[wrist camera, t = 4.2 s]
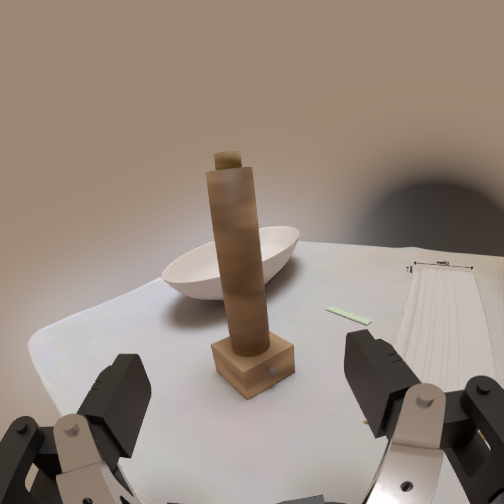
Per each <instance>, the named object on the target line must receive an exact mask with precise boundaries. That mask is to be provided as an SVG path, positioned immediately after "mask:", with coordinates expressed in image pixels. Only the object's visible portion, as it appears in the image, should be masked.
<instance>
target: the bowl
mask: <svg viewBox="0 0 504 504" xmlns="http://www.w3.org/2000/svg"><path fill="white" fill-rule="evenodd" d="M259 236H260V246H261V256H262V265H263V275H264V285H265V284H267V283H268V282H269V280H270V279H271V278H272V277H273V276H274V275H275V274H277V273H278V272H279V271H280V270H281V268H282V267H283V266H284V265H285V264H286V263H287V261H288V260H289V258H290V257H291V255H292V253H293V251H294V249H295V246H296V244H297V241H298V238H299V231H298V230H297V229H296V228H293V227H287V226H273V227H265V228H259ZM162 277H163V279H164V281H165V282H166V283H168V284H169V285H170V286H171V287H172V288H174V289H175V290H177V291H178V292H180V293H182V294H183V295H185V296H188V297H191V298H195V299H201V300H221V301H224V299H223V292H222V286H221V280H220V273H219V267H218V260H217V253H216V246H215V241H213V242H210V243H208V244H205V245H203V246H200V247H198V248H196V249H194V250H192V251H190V252H188V253H186V254H184V255H182V256H181V257H179V258H178V259H176V260H175V261H173V262H172V263H171V264H169V265H168V266H167V267H166V268H165V270H164V271H163V274H162Z"/></svg>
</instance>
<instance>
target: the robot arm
mask: <svg viewBox="0 0 504 504" xmlns="http://www.w3.org/2000/svg"><path fill="white" fill-rule="evenodd" d="M344 372H345V376H346V379H347V381H348V383H349V385H350V387H351V389H352V391H353V393H354V395H355V397H356V399H357V401H358V403H359V405H360V407H361V410H362V412H363V414H364V416H365V418H366V420H367V422H368V424H369V426H370V428H371V430H372V432H373V434H374V436H375V439H376V438H379V437H382V436H385V435H386V437H387V439H388V443H387V446H386V448H385V451H384V454H383V456H382V459H381V461H380V464H379V466H378V469H377V471H376V473H375V476H374V478H373V480H372V482H371V485H370V487H369V489H368V491H367V493H366V495H365V496H364V498H363V500H362V502H361V504H432V500H433V497H434V493H435V490H436V486H437V482H438V478H439V474H440V470H441V465H442V460H443V454H444V452H445V454H446V456H447V458H448V460H449V462H450V463H451V465H452V467H453V469H454V471H455V473H456V475H457V477H458V479H459V481H460V483H461V485H462V487H463V489H464V491H465V493H466V495H467V498H468V500H469V502H470V504H504V390H503V389H502V387H501V386H500V385H499V384H498V383H497V382H496V381H495V380H494V379H492V378H491V377H488V376H484V375H478V376H475V377H472V378H471V379H470V380H469V381H468V382H467V384H466V386H465V389H464V390H458V391H452V392H443V390H442V389H440V388H439V387H438V386H436V385H433V384H429V383H422V382H421V381H420V380H419V379H418V377H417V376H416V375H415V374H414V372H413V371H412V370H411V369H410V367H409V366H408V365H407V364H406V362H405V361H403V359H402V357H401V356H400V355H399V354H397V351H396V350H395V349H394V348H393V347H392V345H391V344H389V343H387V342H385V341H384V340H382V339H377V340H375V339H374V337H373V336H372V335H371V334H370V332H369V331H368V330H367V329H364V330H360V331H355V332H350V333H347V336H346V346H345V358H344ZM150 398H151V385H150V382H149V379H148V377H147V374H146V372H145V369H144V366H143V364H142V361H141V359H140V357H139V355H138V354H119V355H118V356H117V358H116V359H115V361H114V363H113V364H112V366H110V365H109V366H108V367H107V368H106V369H104V370H103V371H102V372H101V373H100V374H99V376H98V378H97V379H96V381H95V383H94V384H93V386H92V388H91V390H90V391H89V393H88V394H87V396H86V398H85V399H84V401H83V403H82V405H81V406H80V408H79V410H78V412H77V413H76V414H69V415H66V416H63V417H62V418H60V419H59V420H58V421H57V422H56V424H55V426H53V427H39V425H38V424H37V423H36V421H35V420H34V419H33V418H32V417H29V416H22V417H20V418H17V419H16V420H15V421H13V423H12V424H11V425H10V427H9V429H8V430H7V432H6V433H5V435H4V437H3V438H2V440H1V442H0V504H142V503H141V502H140V501H139V499H138V497H137V496H136V494H135V492H134V491H133V489H132V487H131V485H130V483H129V482H128V480H127V478H126V476H125V474H124V472H123V470H122V468H121V466H120V465H119V464H118V460H119V457H124V458H131V457H132V454H133V450H134V447H135V444H136V441H137V438H138V434H139V431H140V428H141V425H142V422H143V419H144V416H145V413H146V410H147V407H148V404H149V401H150ZM479 430H480V432H481V433H482V435H483V436H484V438H485V439H486V441H487V442H488V444H489V445H490V449H491V451H490V449H489V448H488V446H487V445H486V443H485V442H484V440H483V439H482V437H481V436H480V434H479V433H478V431H479ZM32 463H34V464H35V466H37V468H38V469H39V470H38V472H37V475H36V477H35V480H34V482H33V485H32V487H31V490H30V492H28V491H27V489H26V487H25V479H26V476H27V474H28V471H29V469H30V467H31V465H32ZM167 504H177V503H168V502H167ZM277 504H345V503H337V502H324V498H323V495H318V496H313V497H308V498H302V499H296V500H289V501H283V502H280V503H277Z"/></svg>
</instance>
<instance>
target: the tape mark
mask: <svg viewBox="0 0 504 504" xmlns="http://www.w3.org/2000/svg"><path fill="white" fill-rule="evenodd" d="M326 310H327V311H330V312H333V313H335V314H338V315H341V316H343V317H346V318H348V319H351V320H354V321H356V322H359V323H362V324H364V325H368V324H369V323H371V322H372V320H369V319H366V318H364V317H361V316H358V315H355V314H352V313H350V312H347V311H344V310H341V309H339V308H336V307H333V306H331V307H329V308H327V309H326Z"/></svg>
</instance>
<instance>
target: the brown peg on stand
mask: <svg viewBox="0 0 504 504" xmlns="http://www.w3.org/2000/svg"><path fill="white" fill-rule="evenodd" d="M214 159H215V168H216V171H211V172H206V178H207V187H208V194H209V202H210V210H211V218H212V225H213V232H214V239H215V246H216V253H217V260H218V267H219V273H220V280H221V286H222V292H223V299H224V305H225V311H226V317H227V323H228V328H229V334H230V337H227V338H225V339H223V340H220V341H218V342H216V343H213V344H211V348H212V352H213V357H214V361H215V365H216V370H217V371H218V372H219V373H220V374H221V375H222V376H223V377H224V378H225V379H226V380H227V381H228V382H229V383H230V384H231V385H232V386H234V387H235V388H236V389H237V390H238V391H239V392H240V393H241V394H242V395H243V396H245V397H246V398H247V399H250V398H251V397H253V396H255V395H257V394H259V393H260V392H262V391H264V390H266V389H267V388H269V387H271V386H273V385H274V384H276V383H278V382H279V381H281V380H283V379H284V378H286V377H288V376H289V375H291V374H292V373H294V372H295V365H294V345H293V344H291V343H289V342H287V341H286V340H284V339H282V338H280V337H279V336H277V335H275V334H273V333H272V332H270V331H269V326H268V315H267V305H266V295H265V285H264V275H263V265H262V256H261V246H260V236H259V227H258V218H257V208H256V199H255V190H254V181H253V171H252V167H243V168H242V165H241V156H240V151H228V152H221V153H216V154H214Z"/></svg>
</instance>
